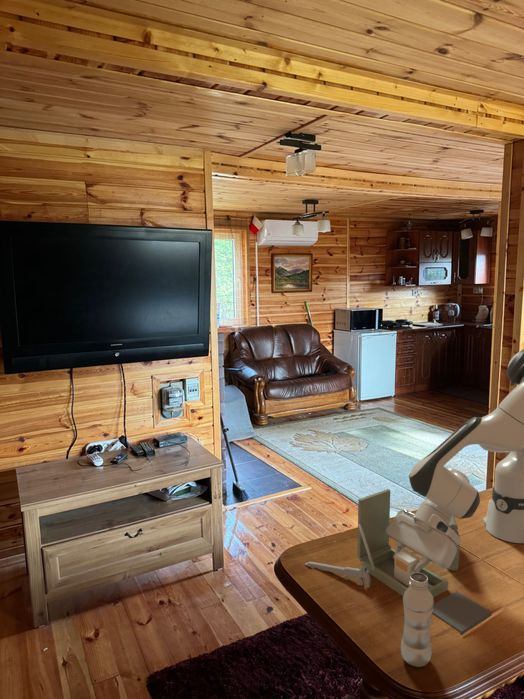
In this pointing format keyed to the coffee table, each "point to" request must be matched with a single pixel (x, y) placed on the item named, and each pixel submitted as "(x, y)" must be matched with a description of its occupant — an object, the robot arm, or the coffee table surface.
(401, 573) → the block
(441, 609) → the rubber mat
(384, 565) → the equipment case
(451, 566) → the geiger counter
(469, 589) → the coffee table surface
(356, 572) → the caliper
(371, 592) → the coffee table surface
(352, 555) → the coffee table surface
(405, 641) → the plastic bottle
